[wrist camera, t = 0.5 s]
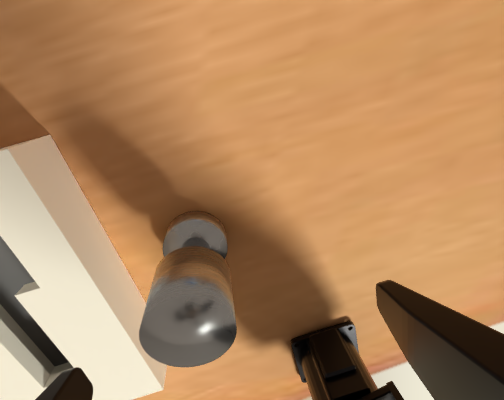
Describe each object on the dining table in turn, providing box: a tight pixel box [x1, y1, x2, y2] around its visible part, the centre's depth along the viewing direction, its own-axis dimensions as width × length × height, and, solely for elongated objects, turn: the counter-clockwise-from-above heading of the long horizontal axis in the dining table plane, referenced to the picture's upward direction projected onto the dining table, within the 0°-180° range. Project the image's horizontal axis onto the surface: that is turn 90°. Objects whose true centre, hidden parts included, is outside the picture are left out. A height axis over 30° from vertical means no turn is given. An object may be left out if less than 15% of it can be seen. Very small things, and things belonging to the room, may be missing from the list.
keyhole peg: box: [139, 211, 237, 367], centre depth 17 cm, size 5×5×9 cm
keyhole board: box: [0, 135, 167, 400], centre depth 19 cm, size 20×12×4 cm, turn 15°
